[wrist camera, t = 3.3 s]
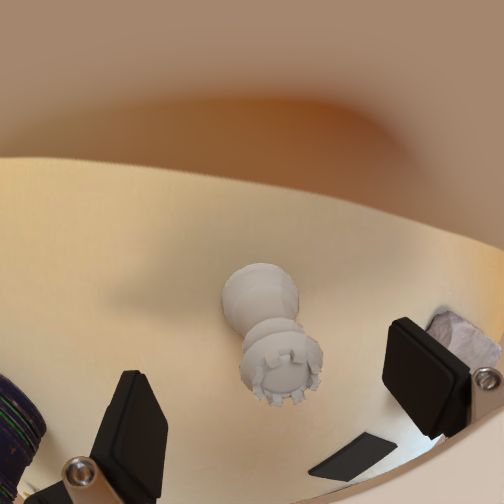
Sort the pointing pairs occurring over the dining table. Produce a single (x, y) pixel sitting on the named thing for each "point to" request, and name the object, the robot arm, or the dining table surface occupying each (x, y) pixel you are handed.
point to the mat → (354, 458)
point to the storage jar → (16, 437)
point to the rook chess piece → (271, 334)
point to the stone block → (465, 341)
